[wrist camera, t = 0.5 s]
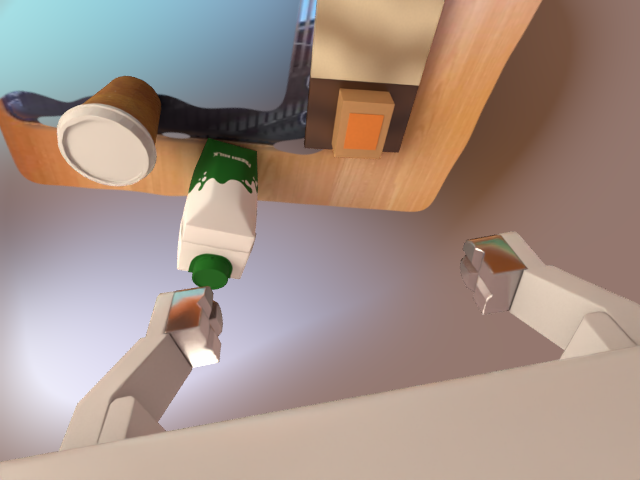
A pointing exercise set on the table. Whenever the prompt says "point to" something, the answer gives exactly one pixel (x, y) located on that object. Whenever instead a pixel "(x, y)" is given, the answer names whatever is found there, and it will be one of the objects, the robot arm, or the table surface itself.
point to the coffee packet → (361, 123)
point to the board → (368, 59)
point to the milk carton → (219, 215)
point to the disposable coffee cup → (113, 133)
